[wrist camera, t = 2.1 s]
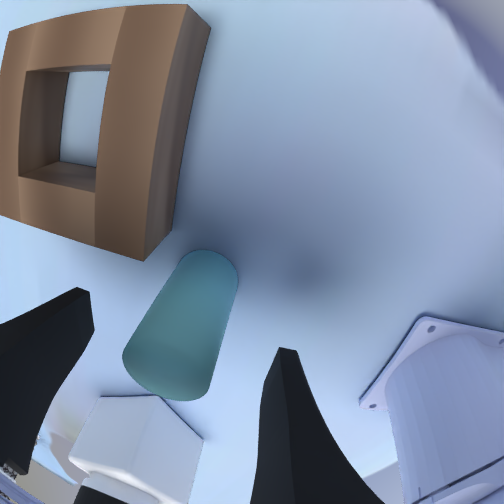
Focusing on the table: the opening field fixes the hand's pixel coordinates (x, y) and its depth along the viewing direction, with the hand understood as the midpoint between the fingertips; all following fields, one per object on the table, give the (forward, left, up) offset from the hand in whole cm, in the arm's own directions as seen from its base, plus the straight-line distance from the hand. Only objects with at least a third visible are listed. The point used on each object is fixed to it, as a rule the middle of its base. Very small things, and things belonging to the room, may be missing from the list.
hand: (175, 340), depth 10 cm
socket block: (+6, -6, -4) cm, 10 cm away
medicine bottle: (+3, +16, -5) cm, 17 cm away
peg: (0, 0, -4) cm, 4 cm away
